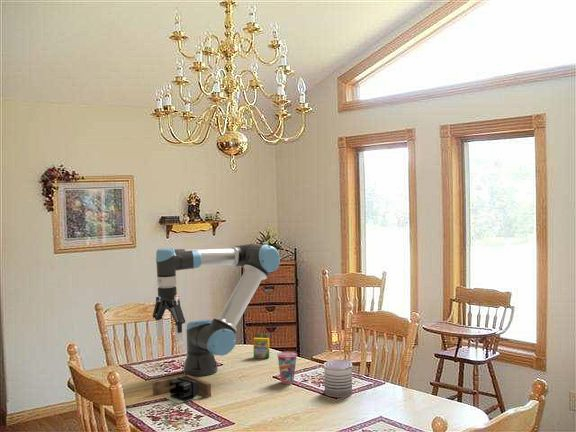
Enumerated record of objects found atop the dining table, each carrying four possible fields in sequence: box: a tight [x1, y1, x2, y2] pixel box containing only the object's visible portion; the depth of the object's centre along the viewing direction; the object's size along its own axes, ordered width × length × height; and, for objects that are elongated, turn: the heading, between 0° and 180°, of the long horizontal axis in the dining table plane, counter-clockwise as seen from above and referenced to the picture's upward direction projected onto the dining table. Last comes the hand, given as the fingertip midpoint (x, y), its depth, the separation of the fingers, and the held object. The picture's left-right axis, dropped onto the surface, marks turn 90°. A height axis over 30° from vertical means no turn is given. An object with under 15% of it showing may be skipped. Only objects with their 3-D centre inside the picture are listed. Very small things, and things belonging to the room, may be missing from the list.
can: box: [323, 359, 353, 398], centre depth 255 cm, size 11×11×12 cm
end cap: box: [169, 376, 199, 402], centre depth 252 cm, size 10×7×7 cm
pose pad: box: [165, 394, 202, 404], centre depth 252 cm, size 11×9×1 cm
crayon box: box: [253, 333, 270, 360], centre depth 311 cm, size 7×3×12 cm, turn 80°
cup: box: [277, 351, 298, 385], centre depth 270 cm, size 9×8×12 cm
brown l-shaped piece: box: [152, 374, 212, 398], centre depth 254 cm, size 16×18×5 cm
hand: (169, 337), depth 263 cm, fingers open, 13 cm apart
